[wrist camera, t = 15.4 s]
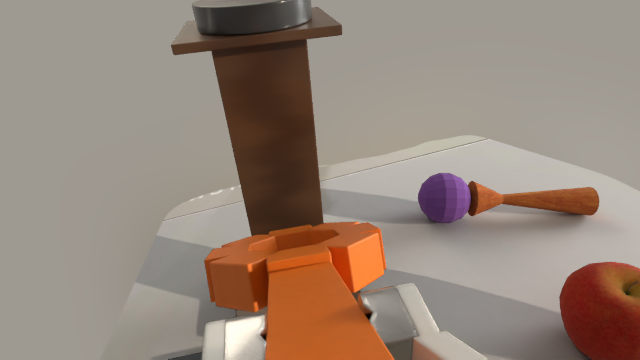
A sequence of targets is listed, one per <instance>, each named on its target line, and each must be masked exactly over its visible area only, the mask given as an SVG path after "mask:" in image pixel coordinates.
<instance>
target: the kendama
mask: <svg viewBox="0 0 640 360" xmlns="http://www.w3.org/2000/svg"><path fill="white" fill-rule="evenodd" d="M418 201H419V204H420V207H421V210H422V211H423V212H424V213H425V214H426V215H427V216H428V217H429V219H431V220H434V221H436V222H438V223H451V222H453V221H456V220H458V219H461V218H462V217H463V216H464V215H465V214H466V213H467V212H468V213H469V215H470V216H474V215H476V214H479V213H481V212H483V211H486V210H488V209H490V208H493V207H495V206H498V205H500V204H507V205H514V206H522V207H529V208H537V209H545V210H552V211H560V212H567V213H575V214H583V215H593V214H594V213H595V212H596V211H597V209H598V207H599V196H598V194H597V192H596V190H595V189H594V188H591V187H585V188H574V189H562V190H550V191H539V192H527V193H515V194H504V195H501V194H499V193H497V192H495V191H493V190H490V189H488V188H486V187H484V186H482V185H480V184H478V183H476V182H473V181H471V182H470V183H469V185H467V184H466V183H465V182H464V181H463V180H462V179H461V178H459V177H457V176H455V175H453V174H450V173H438V174H436V175H433V176H430V177H429V178H428V179H427V180H426V181H425V182H424V183H423V184H422V186H421V188H420V191H419V194H418Z"/></svg>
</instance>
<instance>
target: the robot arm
mask: <svg viewBox="0 0 640 360" xmlns="http://www.w3.org/2000/svg"><path fill="white" fill-rule="evenodd" d="M358 305H359V307H360V308H361V310H362V311H363V313H364V314H365V315H366V317H367V318H368V320H369V321H370V323H371V324H372V326H373V327H374V329H375V330H376V332H377V333H378V335H379V336H380V338H381V340H382V341H383V343H384V344H385V346H386V347H387V349H388V350H389V352H390V353H391V355H392V356H393V358H394V359H395V360H489V359H487V358H486V357H484V356H483V355H481V354H480V353H478V352H477V351H475V350H474V349H472V348H471V347H469V346H468V345H466V344H465V343H463V342H462V341H460V340H459V339H457V338H456V337H454V336H453V335H451V334H450V333H448V332H446V331H441V332H440V331H439V329H438V327H437V325H436V323H435V321H434V320H433V318H432V316H431V314H430V312H429V310H428V308H427V306H426V305H425V303H424V301H423V299H422V297H421V295H420V293H419V291H418V290H417V288H416V286H415V285H414V284H413V283H407V284H402V285H397V286H391V287H386V288H381V289H376V290H372V291H367V292H362V293H358ZM266 334H267V318H266V314H265V312H264V313H258V314H252V315H247V316H241V317H235V318H229V319H224V320H219V321H213V322H208V323H206V326H205V329H204V339H203V351H202V360H265V349H266V344H267V343H266Z"/></svg>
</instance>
